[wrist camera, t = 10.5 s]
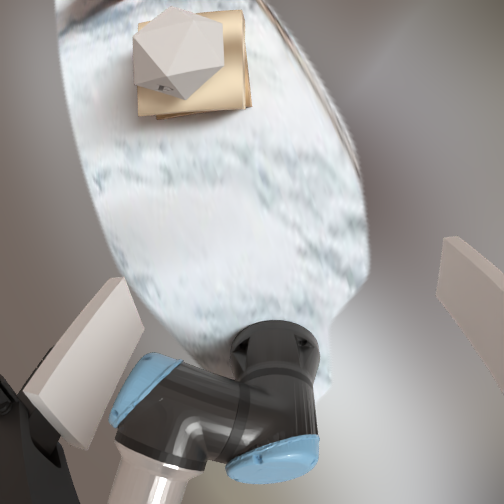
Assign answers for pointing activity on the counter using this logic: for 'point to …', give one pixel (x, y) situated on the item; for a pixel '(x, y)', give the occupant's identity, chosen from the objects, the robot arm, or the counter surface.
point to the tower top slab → (218, 86)
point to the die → (177, 52)
